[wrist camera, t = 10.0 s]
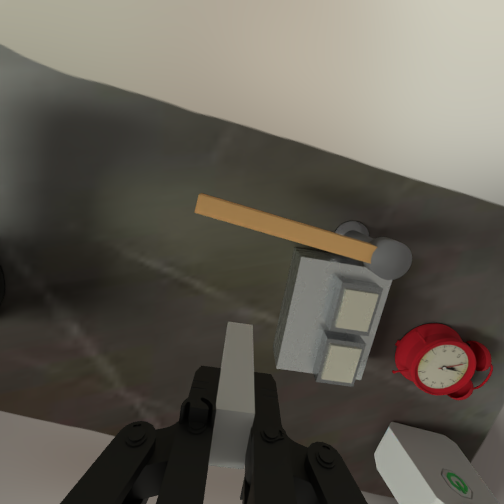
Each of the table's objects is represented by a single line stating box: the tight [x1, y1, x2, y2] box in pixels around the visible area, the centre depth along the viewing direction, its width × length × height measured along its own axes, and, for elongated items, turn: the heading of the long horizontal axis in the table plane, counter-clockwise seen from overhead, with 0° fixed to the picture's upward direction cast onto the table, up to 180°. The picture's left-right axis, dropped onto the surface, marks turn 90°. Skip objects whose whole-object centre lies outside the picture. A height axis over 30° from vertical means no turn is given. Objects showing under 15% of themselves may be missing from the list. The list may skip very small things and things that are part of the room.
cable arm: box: [194, 193, 412, 280], centre depth 32 cm, size 22×4×11 cm, turn 73°
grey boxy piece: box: [273, 221, 392, 387], centre depth 36 cm, size 12×21×7 cm, turn 170°
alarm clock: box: [392, 323, 493, 400], centre depth 41 cm, size 10×6×15 cm
